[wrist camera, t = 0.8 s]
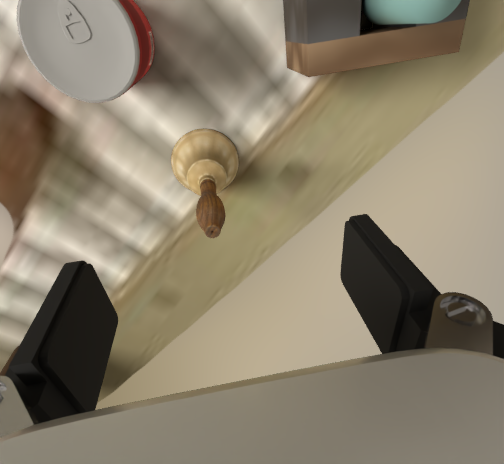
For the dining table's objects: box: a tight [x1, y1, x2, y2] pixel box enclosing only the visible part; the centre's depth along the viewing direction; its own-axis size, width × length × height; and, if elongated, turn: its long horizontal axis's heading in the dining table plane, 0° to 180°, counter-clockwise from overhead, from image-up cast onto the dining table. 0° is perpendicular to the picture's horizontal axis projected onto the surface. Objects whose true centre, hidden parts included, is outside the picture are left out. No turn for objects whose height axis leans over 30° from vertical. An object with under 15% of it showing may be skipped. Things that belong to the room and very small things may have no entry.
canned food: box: [17, 0, 155, 103], centre depth 26 cm, size 8×8×11 cm
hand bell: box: [171, 129, 239, 238], centre depth 32 cm, size 8×8×16 cm
